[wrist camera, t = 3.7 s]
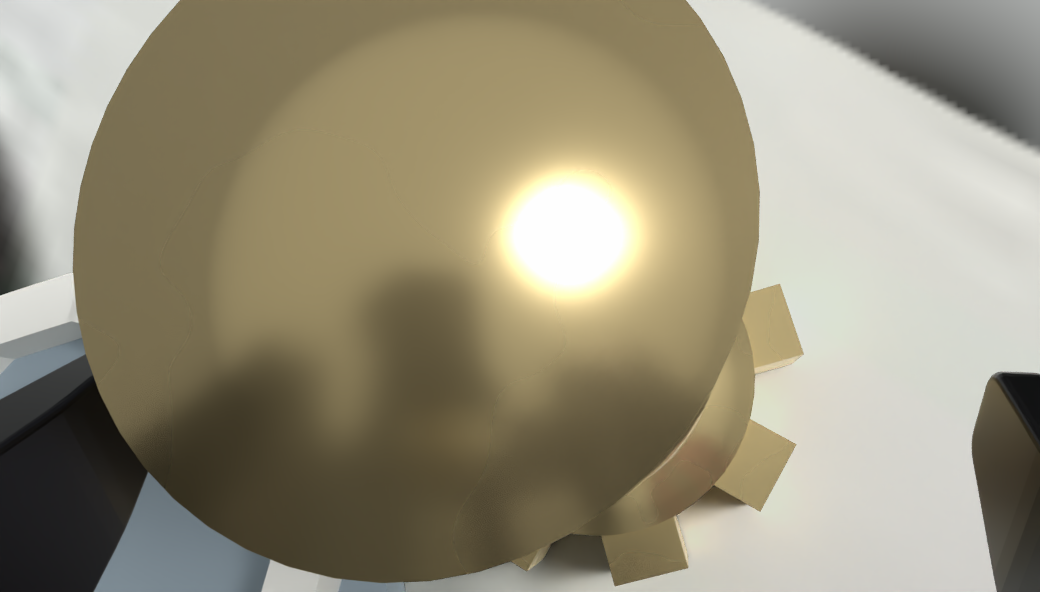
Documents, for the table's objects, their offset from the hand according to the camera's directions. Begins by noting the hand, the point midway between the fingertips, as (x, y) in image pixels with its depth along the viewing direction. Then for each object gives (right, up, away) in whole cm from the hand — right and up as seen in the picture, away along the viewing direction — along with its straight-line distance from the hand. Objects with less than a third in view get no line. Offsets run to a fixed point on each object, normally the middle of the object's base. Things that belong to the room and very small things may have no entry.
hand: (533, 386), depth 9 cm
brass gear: (+2, -1, +8) cm, 8 cm away
